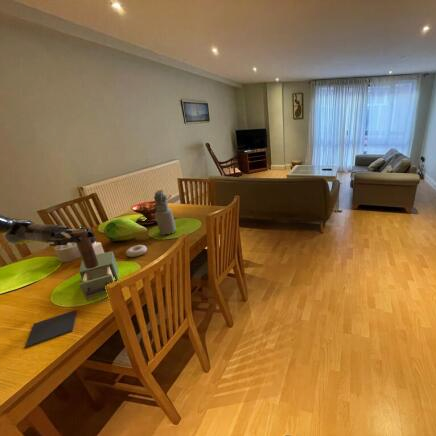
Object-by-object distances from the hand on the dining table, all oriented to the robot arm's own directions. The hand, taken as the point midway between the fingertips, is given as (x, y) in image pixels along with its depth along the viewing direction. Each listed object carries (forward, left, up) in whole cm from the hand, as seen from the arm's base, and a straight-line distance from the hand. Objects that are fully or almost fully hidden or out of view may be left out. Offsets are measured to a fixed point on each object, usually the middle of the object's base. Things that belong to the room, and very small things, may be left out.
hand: (87, 237), depth 94 cm
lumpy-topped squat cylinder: (+48, +17, -27) cm, 57 cm away
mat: (-13, +16, -26) cm, 33 cm away
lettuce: (+54, -10, -27) cm, 61 cm away
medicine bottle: (+40, +7, -27) cm, 48 cm away
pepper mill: (+2, +2, -14) cm, 14 cm away
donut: (+30, -13, -27) cm, 42 cm away
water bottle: (+50, -32, -27) cm, 65 cm away
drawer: (+1, +2, -26) cm, 26 cm away
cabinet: (+13, +2, -26) cm, 29 cm away
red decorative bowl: (+79, -28, -27) cm, 88 cm away
